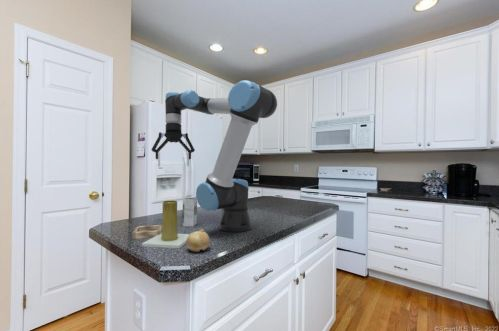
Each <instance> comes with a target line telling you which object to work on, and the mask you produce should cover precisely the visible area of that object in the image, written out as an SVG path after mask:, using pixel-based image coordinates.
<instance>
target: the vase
mask: <svg viewBox="0 0 499 331" xmlns="http://www.w3.org/2000/svg"><path fill="white" fill-rule="evenodd" d="M161 225H162V236H161V239H162V240H163V241H172V240H176V239H177V238H178V234H179V232H178V230H179V229H178V201H177V200H164V201H162V222H161Z"/></svg>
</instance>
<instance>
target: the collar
mask: <svg viewBox="0 0 499 331" xmlns="http://www.w3.org/2000/svg"><path fill="white" fill-rule="evenodd" d="M161 233H162V224H158V225H155V224H154V225H138V226H136V227H135V228H134V230H133V231H132V233H131V234H132V236H131V237H132V240H140V239H151V238H153V237H155V236H157V235H161Z"/></svg>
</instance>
